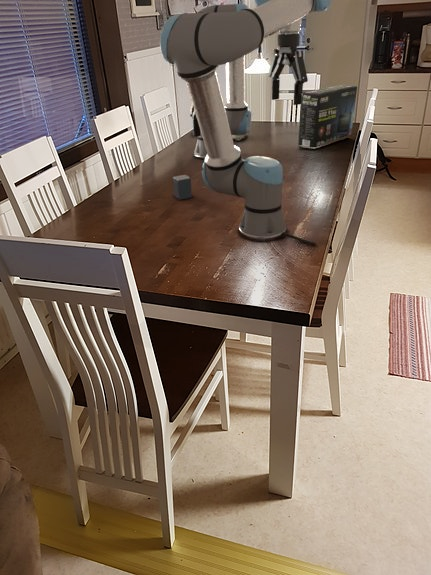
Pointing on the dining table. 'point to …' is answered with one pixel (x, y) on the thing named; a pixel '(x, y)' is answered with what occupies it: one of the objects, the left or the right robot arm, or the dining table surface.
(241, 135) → the fossil
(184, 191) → the block
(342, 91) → the router box
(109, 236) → the dining table surface
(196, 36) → the right robot arm
